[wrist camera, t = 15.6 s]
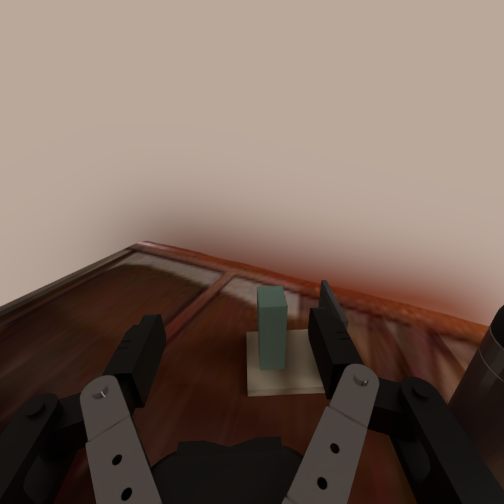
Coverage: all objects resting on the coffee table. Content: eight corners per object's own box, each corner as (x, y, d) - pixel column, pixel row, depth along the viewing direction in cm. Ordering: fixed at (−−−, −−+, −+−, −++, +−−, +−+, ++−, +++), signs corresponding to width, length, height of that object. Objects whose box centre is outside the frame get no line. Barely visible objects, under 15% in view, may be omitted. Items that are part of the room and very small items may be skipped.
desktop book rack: (317, 334, 50) (324, 277, 44) (337, 392, 39) (351, 326, 33) (246, 337, 50) (244, 280, 43) (247, 396, 39) (244, 331, 33)
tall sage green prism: (279, 344, 46) (282, 285, 40) (284, 368, 41) (287, 306, 35) (258, 345, 46) (256, 286, 40) (260, 370, 41) (259, 307, 35)
